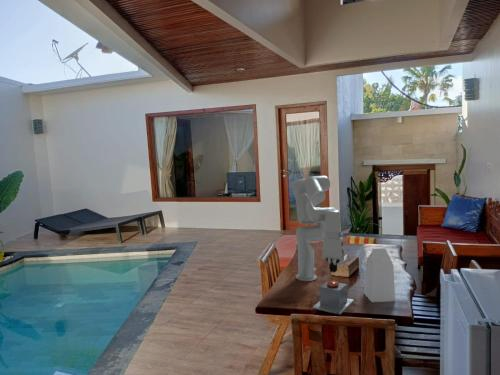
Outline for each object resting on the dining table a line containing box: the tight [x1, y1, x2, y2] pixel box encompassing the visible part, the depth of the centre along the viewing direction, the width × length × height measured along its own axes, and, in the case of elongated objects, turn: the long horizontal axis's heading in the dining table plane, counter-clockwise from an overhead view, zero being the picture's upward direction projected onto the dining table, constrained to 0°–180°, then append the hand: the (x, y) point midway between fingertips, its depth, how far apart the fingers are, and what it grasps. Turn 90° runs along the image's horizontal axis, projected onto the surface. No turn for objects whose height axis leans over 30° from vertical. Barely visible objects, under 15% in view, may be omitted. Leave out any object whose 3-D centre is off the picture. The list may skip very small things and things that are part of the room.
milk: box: [363, 247, 396, 303], centre depth 201 cm, size 12×12×26 cm
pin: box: [326, 280, 340, 288], centre depth 194 cm, size 6×6×10 cm
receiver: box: [312, 280, 355, 316], centre depth 194 cm, size 18×14×10 cm
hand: (333, 271), depth 193 cm, fingers closed
